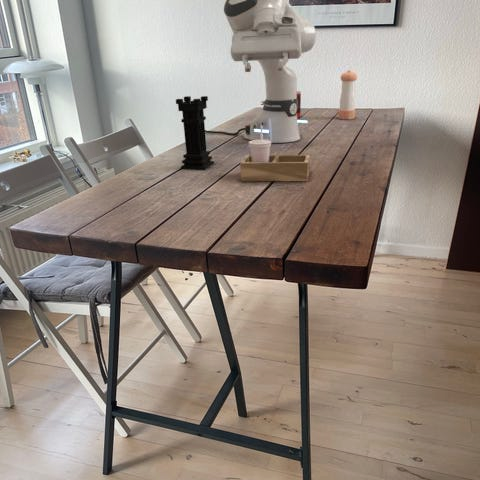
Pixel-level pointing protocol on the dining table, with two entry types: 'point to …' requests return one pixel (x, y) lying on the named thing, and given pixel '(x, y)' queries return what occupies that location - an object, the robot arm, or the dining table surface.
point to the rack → (276, 168)
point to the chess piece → (194, 133)
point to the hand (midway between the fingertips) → (263, 69)
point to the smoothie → (260, 149)
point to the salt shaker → (347, 96)
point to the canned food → (298, 103)
